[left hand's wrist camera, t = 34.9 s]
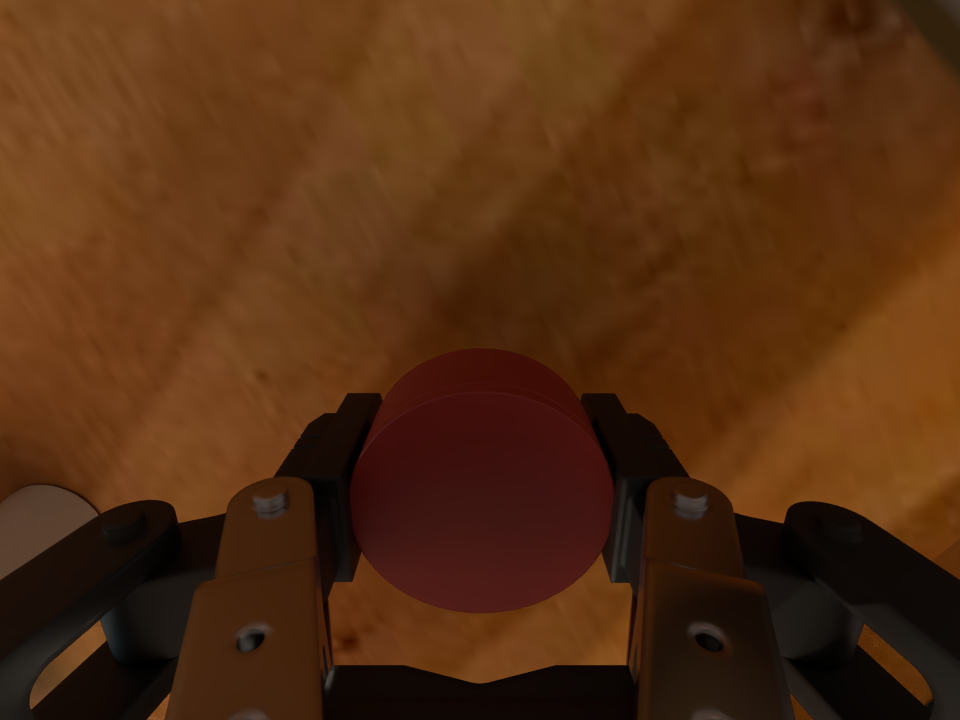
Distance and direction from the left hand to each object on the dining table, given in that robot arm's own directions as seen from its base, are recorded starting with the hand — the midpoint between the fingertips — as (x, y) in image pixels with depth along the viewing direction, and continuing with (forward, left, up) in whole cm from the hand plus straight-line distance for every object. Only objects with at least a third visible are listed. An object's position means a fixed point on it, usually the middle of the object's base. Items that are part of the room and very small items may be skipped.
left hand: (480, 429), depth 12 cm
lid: (0, 0, +3) cm, 3 cm away
